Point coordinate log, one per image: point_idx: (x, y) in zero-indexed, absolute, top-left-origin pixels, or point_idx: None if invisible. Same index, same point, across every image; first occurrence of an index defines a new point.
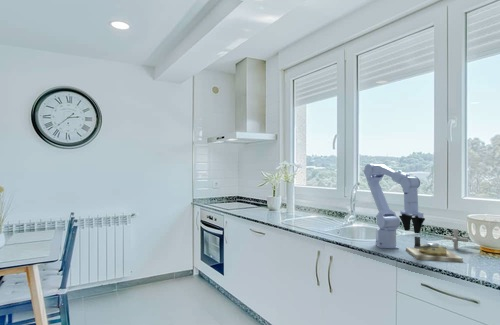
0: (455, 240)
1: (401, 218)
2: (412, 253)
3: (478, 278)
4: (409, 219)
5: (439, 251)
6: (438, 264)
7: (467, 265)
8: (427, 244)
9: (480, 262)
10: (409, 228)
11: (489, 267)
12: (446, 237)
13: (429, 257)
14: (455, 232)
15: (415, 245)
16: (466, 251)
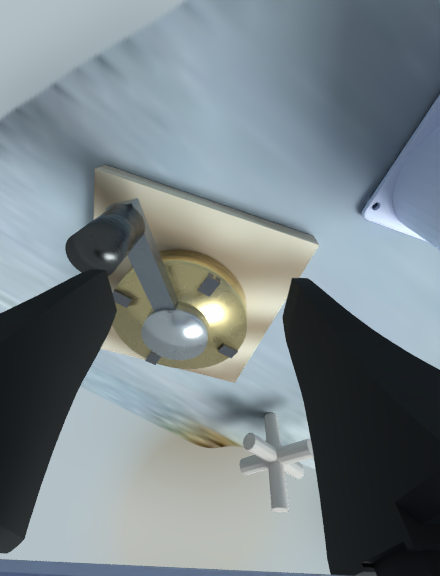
0: (246, 443)
1: (436, 402)
2: (189, 198)
3: None
4: (324, 462)
5: None
6: (28, 220)
7: None
8: (169, 310)
9: (104, 374)
10: (287, 335)
11: None
12: (299, 449)
13: None
14: (273, 488)
15: (114, 205)
16: (237, 420)
